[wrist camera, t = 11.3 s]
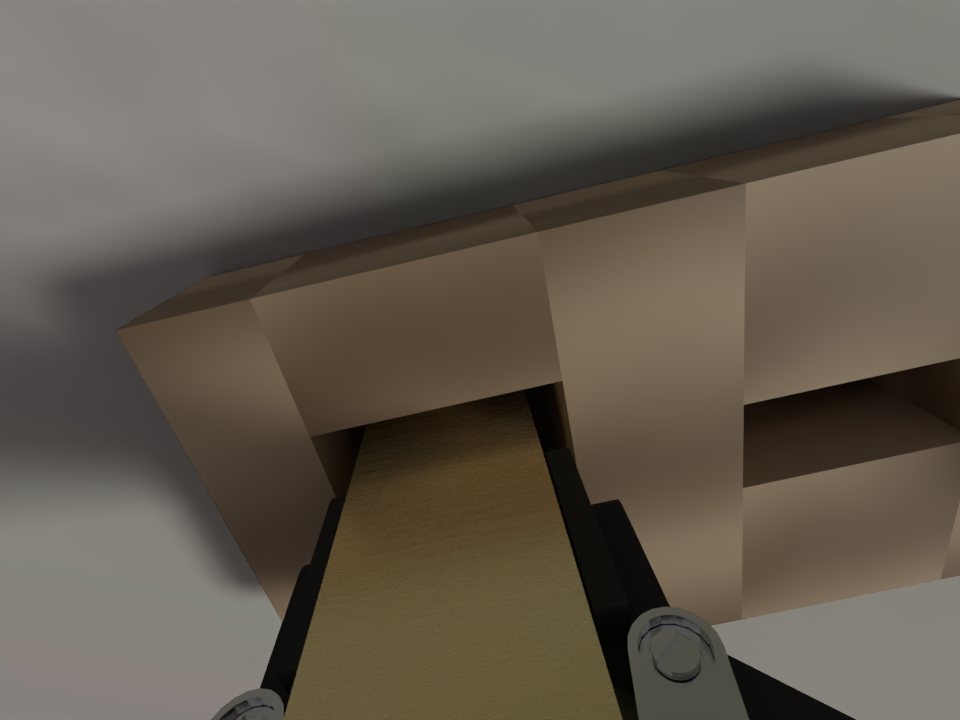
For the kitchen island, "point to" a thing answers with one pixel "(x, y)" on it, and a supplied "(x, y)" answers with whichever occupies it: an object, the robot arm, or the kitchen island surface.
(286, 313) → the socket block
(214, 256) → the kitchen island surface
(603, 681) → the peg
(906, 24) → the kitchen island surface
